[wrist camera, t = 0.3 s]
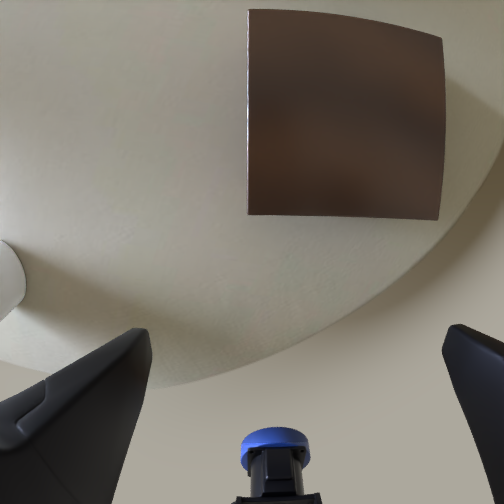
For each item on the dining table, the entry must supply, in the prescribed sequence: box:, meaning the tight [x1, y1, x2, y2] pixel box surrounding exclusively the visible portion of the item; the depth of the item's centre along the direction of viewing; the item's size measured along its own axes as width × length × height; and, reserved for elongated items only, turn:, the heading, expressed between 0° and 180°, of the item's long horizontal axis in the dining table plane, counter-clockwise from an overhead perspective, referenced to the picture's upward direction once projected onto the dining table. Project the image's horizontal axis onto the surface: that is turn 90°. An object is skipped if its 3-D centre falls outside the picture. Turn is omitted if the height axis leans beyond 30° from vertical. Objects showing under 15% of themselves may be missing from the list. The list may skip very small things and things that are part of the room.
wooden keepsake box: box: [247, 9, 446, 220], centre depth 16 cm, size 10×10×5 cm
